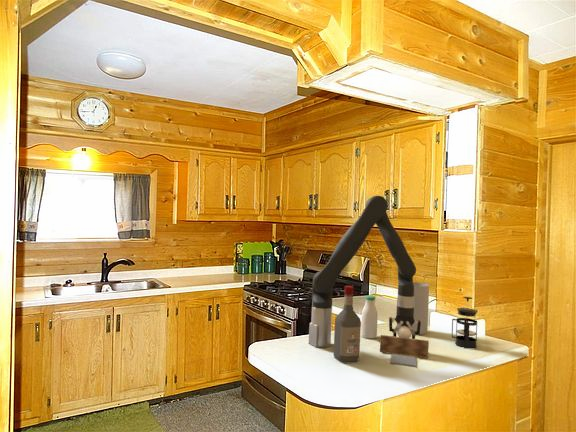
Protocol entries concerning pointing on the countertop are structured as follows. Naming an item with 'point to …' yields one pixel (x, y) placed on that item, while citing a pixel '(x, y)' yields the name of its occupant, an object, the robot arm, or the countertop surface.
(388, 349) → the brown wooden block
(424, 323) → the cylinder vase
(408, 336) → the lightbulb
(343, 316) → the liquor
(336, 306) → the countertop surface
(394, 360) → the mat
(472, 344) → the french press
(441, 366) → the countertop surface
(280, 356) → the countertop surface
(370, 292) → the countertop surface
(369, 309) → the milk bottle
